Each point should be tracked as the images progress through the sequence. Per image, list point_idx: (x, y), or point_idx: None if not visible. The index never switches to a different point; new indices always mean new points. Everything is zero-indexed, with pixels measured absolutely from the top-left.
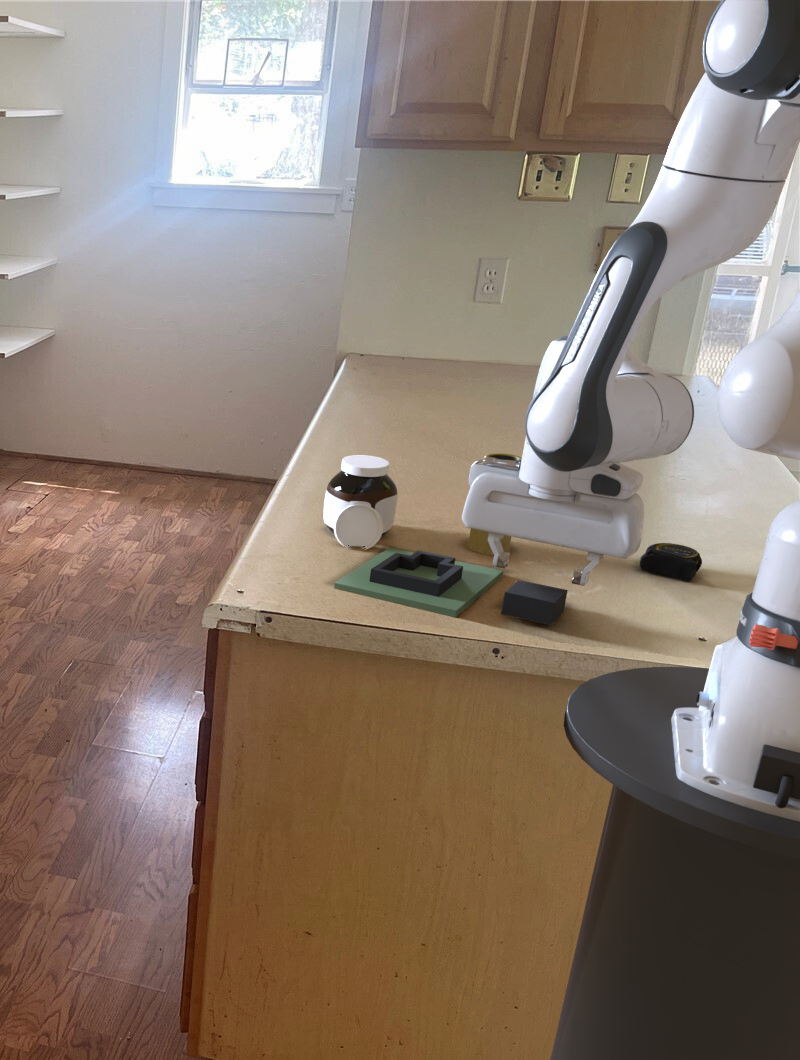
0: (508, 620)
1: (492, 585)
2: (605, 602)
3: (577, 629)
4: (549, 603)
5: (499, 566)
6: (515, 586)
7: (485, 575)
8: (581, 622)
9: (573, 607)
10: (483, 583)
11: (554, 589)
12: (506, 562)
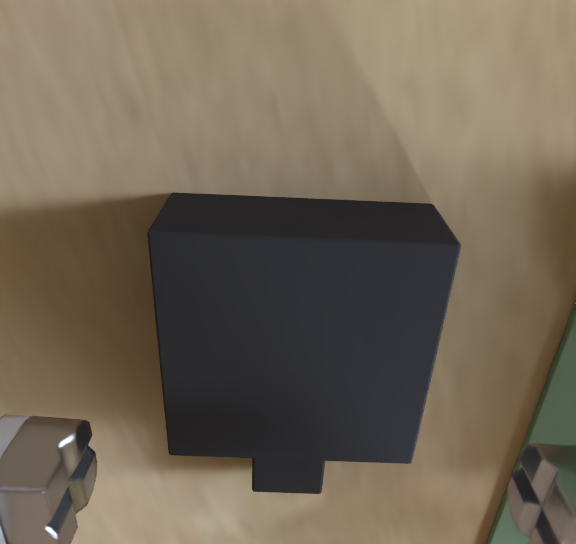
0: (371, 3)
1: None
2: None
3: (9, 109)
4: (184, 229)
5: (566, 447)
6: (411, 368)
7: None
8: (43, 232)
9: (149, 396)
10: None
11: (223, 430)
12: (532, 500)
